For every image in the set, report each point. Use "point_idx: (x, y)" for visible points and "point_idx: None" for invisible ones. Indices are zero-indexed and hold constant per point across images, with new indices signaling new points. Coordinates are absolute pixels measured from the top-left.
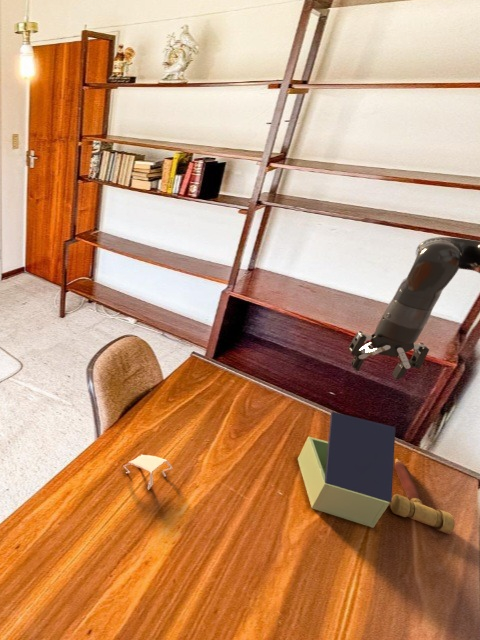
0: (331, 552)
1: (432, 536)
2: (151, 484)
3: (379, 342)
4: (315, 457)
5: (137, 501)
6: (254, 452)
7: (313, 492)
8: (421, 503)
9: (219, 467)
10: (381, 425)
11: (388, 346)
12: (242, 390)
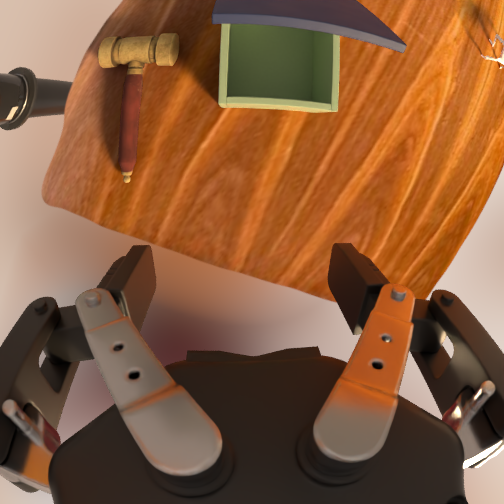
0: None
1: (135, 32)
2: (497, 35)
3: (416, 448)
4: (339, 50)
5: (493, 26)
6: (385, 109)
7: None
8: (131, 65)
9: (433, 70)
10: (258, 13)
11: (350, 444)
12: None
